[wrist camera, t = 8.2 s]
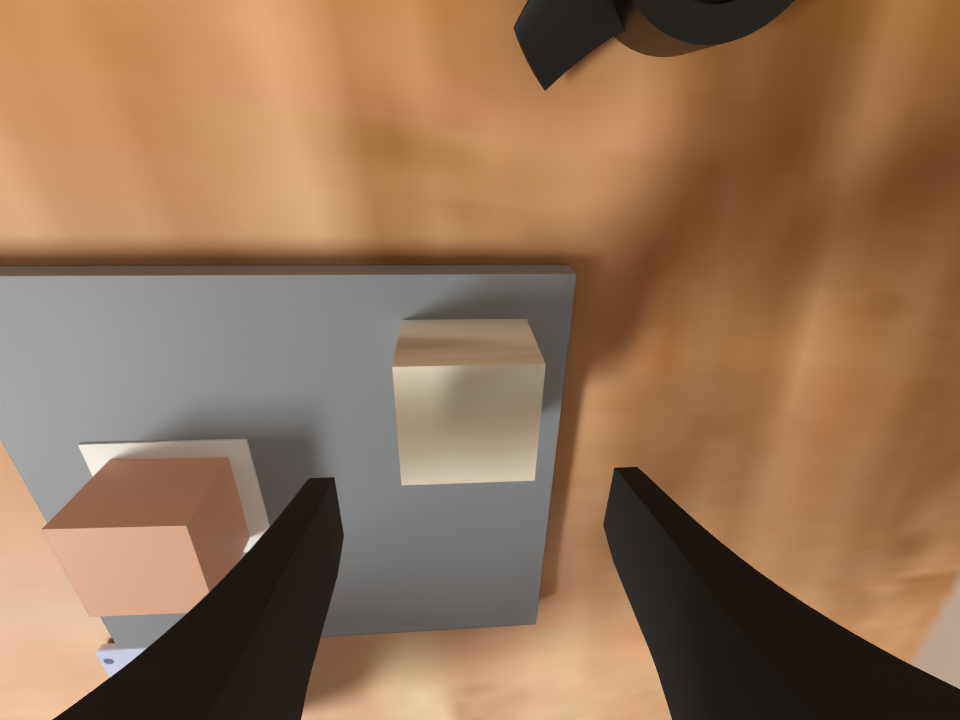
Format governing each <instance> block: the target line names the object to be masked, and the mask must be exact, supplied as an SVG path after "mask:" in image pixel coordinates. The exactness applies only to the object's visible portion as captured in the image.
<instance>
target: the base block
mask: <svg viewBox="0 0 960 720" xmlns="http://www.w3.org/2000/svg"><path fill="white" fill-rule="evenodd" d="M42 531H43V533H44V535H45V537H46V538H47V540H48V542H49V544H50V546H51V548H52V549H53V551H54V553H55V555H56V557H57V559H58V560H59V562H60V564H61V566H62V568H63V570H64V571H65V573H66V575H67V577H68V579H69V580H70V582H71V584H72V586H73V588H74V590H75V591H76V593H77V595H78V597H79V599H80V601H81V602H82V604H83V606H84V608H85V610H86V612H87V613H88V615H89V617H99V616H124V615H148V614H173V613H188V612H189V611H190V610H191V609H192V608H193V607H194V606H195V605H196V604H197V603H198V602H200V601H201V600H202V599H203V598H204V597H205V596H206V595H207V594H208V593H209V592H210V591H211V590H212V589H213V588H214V587H215V586H216V585H217V584H218V583H219V582H220V581H221V580H222V579H223V578H224V577H225V576H226V575H227V574H228V572H229V571H230V570H231V569H232V568H233V567H234V566H235V565H236V564H237V563H238V562H239V560H240V558H241V556H242V554H243V552H244V549H245V547H246V545H247V543H248V541H249V539H250V536H249V532H248V528H247V524H246V521H245V517H244V513H243V509H242V505H241V502H240V498H239V494H238V490H237V486H236V483H235V479H234V475H233V471H232V467H231V464H230V460H229V458H166V459H110V460H109V461H108V462H107V463H106V464H105V465H104V466H103V467H102V468H101V469H100V470H99V471H98V472H97V473H96V474H95V475H94V476H93V477H92V478H91V479H90V480H89V481H88V482H87V483H86V484H85V485H84V486H83V487H82V488H81V489H80V490H79V492H78V493H77V494H76V495H75V496H74V497H73V498H72V499H71V500H70V501H69V502H68V503H67V504H66V505H65V506H64V507H63V508H62V509H61V510H60V511H59V512H58V513H57V514H56V515H55V516H54V517H53V518H52V519H51V520H50V521H49V522H48V523H47V524H46V525H45V526H44V528H43V529H42Z"/></svg>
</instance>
